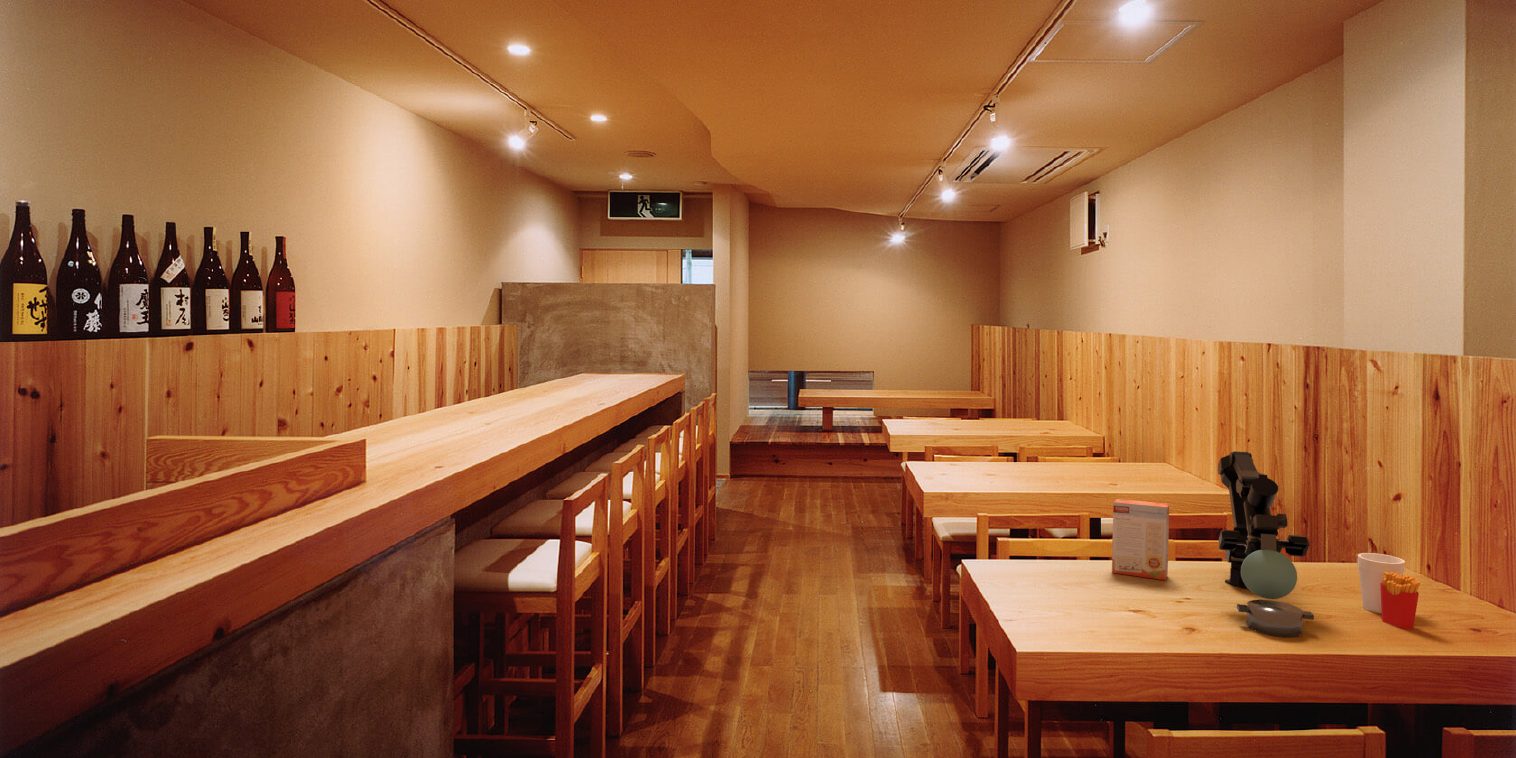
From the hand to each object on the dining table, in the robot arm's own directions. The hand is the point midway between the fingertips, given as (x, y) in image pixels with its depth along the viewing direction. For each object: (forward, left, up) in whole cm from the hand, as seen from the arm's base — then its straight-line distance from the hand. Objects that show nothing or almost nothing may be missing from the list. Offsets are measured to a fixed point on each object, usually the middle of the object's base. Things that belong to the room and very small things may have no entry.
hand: (1267, 573), depth 197 cm
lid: (+1, +1, +2) cm, 2 cm away
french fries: (-24, +16, -11) cm, 31 cm away
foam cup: (-31, +8, -11) cm, 34 cm away
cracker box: (0, -37, -11) cm, 38 cm away
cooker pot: (+6, +6, -11) cm, 14 cm away
